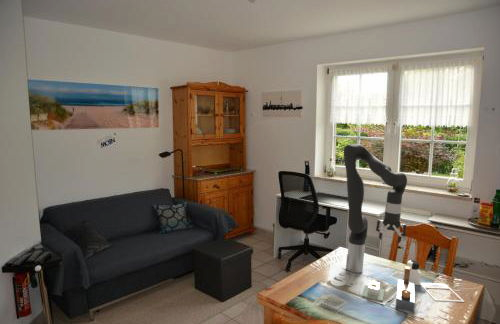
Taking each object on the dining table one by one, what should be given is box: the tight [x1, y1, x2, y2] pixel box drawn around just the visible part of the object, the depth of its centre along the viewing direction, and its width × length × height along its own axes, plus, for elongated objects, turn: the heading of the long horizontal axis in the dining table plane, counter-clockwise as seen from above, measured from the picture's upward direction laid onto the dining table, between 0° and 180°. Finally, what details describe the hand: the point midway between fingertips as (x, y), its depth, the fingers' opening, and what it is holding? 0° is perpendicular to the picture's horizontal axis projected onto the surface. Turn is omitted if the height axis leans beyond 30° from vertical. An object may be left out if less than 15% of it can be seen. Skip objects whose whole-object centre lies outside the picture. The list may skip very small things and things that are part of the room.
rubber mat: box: [361, 284, 385, 303], centre depth 179 cm, size 10×12×1 cm
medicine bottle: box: [402, 259, 423, 286], centre depth 193 cm, size 7×7×12 cm
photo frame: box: [419, 282, 465, 303], centre depth 183 cm, size 15×1×18 cm
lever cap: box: [368, 280, 381, 297], centre depth 179 cm, size 8×5×5 cm, turn 155°
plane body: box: [395, 265, 416, 313], centre depth 174 cm, size 22×8×13 cm, turn 155°
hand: (389, 241), depth 180 cm, fingers open, 8 cm apart
